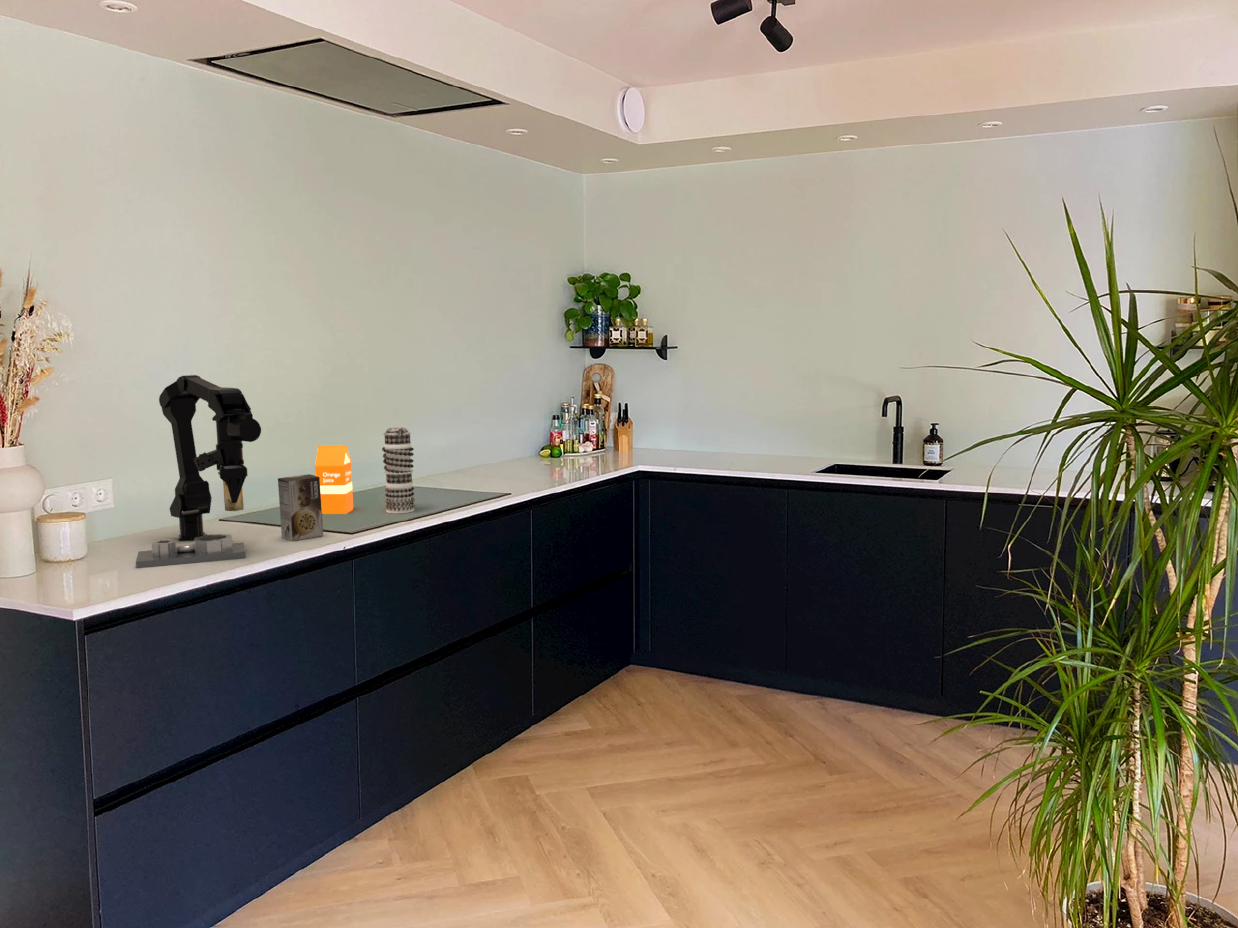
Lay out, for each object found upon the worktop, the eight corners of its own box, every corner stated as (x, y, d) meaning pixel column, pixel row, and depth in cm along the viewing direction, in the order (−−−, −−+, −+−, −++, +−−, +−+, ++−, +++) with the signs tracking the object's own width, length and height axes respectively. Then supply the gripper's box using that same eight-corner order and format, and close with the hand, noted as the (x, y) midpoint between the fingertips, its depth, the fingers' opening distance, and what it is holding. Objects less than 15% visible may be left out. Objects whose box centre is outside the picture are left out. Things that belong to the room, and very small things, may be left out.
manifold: (138, 557, 248) (137, 539, 247) (243, 548, 257) (242, 530, 256) (136, 567, 237) (135, 549, 236) (245, 557, 246) (244, 539, 246)
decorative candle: (404, 514, 301) (401, 430, 297) (378, 512, 304) (374, 429, 301) (422, 509, 309) (419, 427, 306) (396, 507, 313) (393, 426, 309)
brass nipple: (224, 508, 256) (222, 477, 255) (243, 507, 258) (241, 476, 257) (225, 511, 252) (223, 479, 251) (244, 510, 254) (242, 478, 253)
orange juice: (346, 513, 303) (343, 447, 300) (316, 514, 303) (313, 447, 301) (353, 509, 311) (350, 444, 308) (325, 509, 311) (321, 444, 308)
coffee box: (312, 532, 276) (309, 473, 273) (324, 536, 271) (320, 476, 269) (280, 537, 269) (276, 477, 267) (291, 541, 265) (288, 480, 262)
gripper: (193, 437, 258) (197, 498, 260) (195, 445, 241) (200, 510, 243) (240, 435, 262) (243, 495, 264) (245, 442, 245) (249, 506, 247)
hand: (233, 501), depth 255 cm, fingers closed on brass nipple, 4 cm apart
